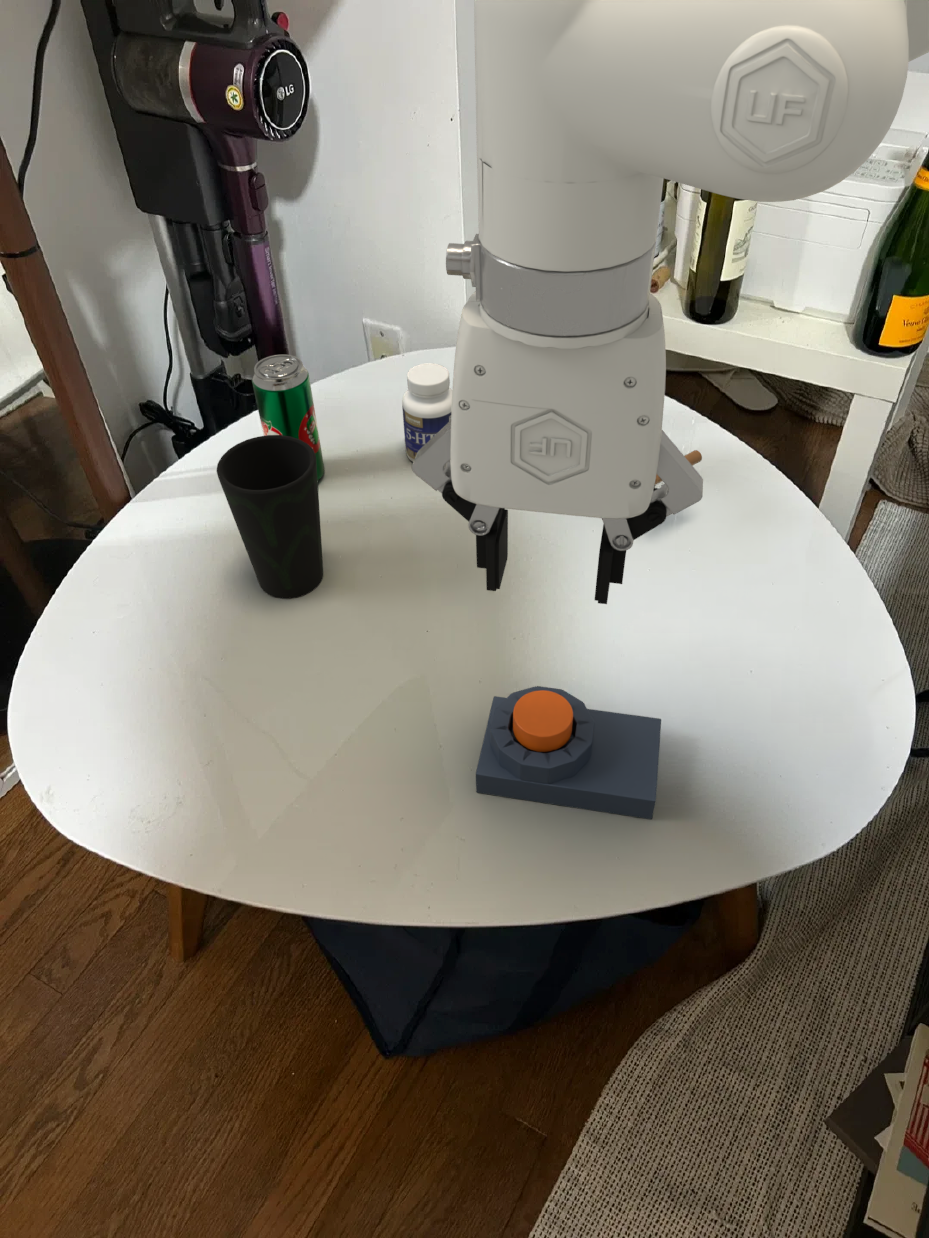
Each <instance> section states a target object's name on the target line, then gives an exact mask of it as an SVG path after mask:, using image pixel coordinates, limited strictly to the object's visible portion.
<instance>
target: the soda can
mask: <svg viewBox="0 0 929 1238" xmlns="http://www.w3.org/2000/svg"><path fill="white" fill-rule="evenodd" d="M253 372H254V373H253V375H252V378H251V383H252V384H251V385H252V388H253V392H254V396H255V402H256V407H257V412H258V415H259V420H260V424H261V430H262V434H263V436H266V435H284V436H291V437H294V438H297V439H300V440H302V441H303V442H305V443H307V444H308V445H309V446H310V447H311V448H312V449H313V450H314V452H315V455H316V463H317V479H318V481H320V479H321V478H322V477H323V476H324V473H325V464H324V457H323V452H322V447H321V446H322V445H321V439H320V434H319V427H318V422H317V415H316V410H315V409H316V408H315V404H314V396H313V391H312V385H311V380H310V375H309V374H310V373H309V371H308V369H307V368H306V367H305V366H304V363H303V361H302V360H301V358H299V357H297V356H295V355H292V354H273V355H269V356H266V357H264V358H261V359H260V360H258V361H257V362H256V364H255V365H254V368H253Z"/></svg>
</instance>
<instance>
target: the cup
mask: <svg viewBox="0 0 929 1238" xmlns="http://www.w3.org/2000/svg"><path fill="white" fill-rule="evenodd" d="M216 474H217V478H218V481H219V483H220V486H221V489H222V491H223V493H224V496H225V499H226V501H227V504H228V507H229V509H230V512H231V514H232V518H233V519H234V521H235V526H236V527H237V529H238V530H237V531H238V533H239V535H240V538H241V540H242V543H243V545H244V548H245V550H246V553H247V556H248V558H249V561H250V564H251V566H252V569H253V572H254V574H255V576H256V579H257V581H258V584H259V587H260V588H261V590H262V591H263V592H264V593H265V594H267V595H268V596H270V597H273V598H277V599H284V600H285V599H288V600H290V599H296V598H301V597H303V596H306V595H308V594H310V593H312V592H313V591H314V590H315V589H316V588H318V587H319V585H320V584H321V583H322V580H323V578H324V563H323V546H322V531H321V516H320V515H321V514H320V497H319V480H318V479H317V463H316V455H315V452H314V450H313V449H312V448H311V447H310V446H309V445H308V444H307V443H305V442H303V441H302V440H300V439H297V438H294V437H291V436H284V435H266V436H264V435H260V436H255V437H252V438H249V439H246V440H243V441H241V442H238V443H236V444H235V445H233V446H232V447H231V448H229V449H228V450H226V451H225V452H224V454H222V455H221V457H220V458H219V461H218V462H217V465H216Z"/></svg>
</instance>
